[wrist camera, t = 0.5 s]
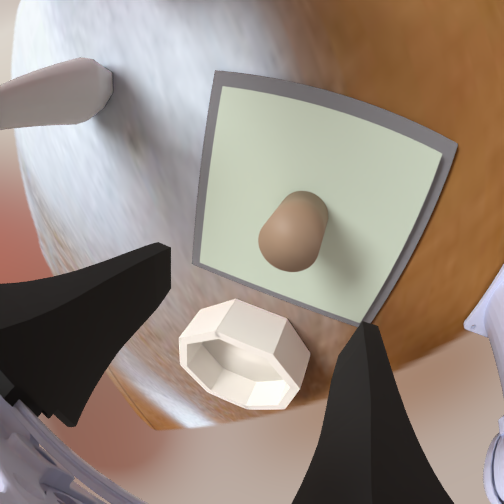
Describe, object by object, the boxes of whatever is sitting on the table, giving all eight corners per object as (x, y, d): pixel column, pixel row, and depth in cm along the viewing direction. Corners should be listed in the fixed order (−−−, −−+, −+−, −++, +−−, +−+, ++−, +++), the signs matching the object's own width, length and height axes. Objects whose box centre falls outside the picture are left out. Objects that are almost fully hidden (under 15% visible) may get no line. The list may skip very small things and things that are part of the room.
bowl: (323, 331, 21) (314, 369, 18) (287, 390, 28) (276, 420, 24) (202, 284, 24) (178, 313, 20) (197, 353, 30) (180, 379, 26)
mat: (456, 143, 11) (458, 143, 11) (366, 327, 20) (366, 330, 19) (217, 70, 14) (215, 70, 14) (193, 262, 23) (192, 264, 22)
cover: (439, 151, 12) (468, 169, 8) (360, 317, 19) (355, 365, 15) (226, 86, 14) (184, 83, 11) (203, 258, 22) (171, 292, 18)
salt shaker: (131, 81, 16) (-31, 113, 6) (100, 131, 19) (-33, 184, 9) (100, 45, 15) (-39, 64, 5) (74, 94, 18) (-47, 130, 8)
